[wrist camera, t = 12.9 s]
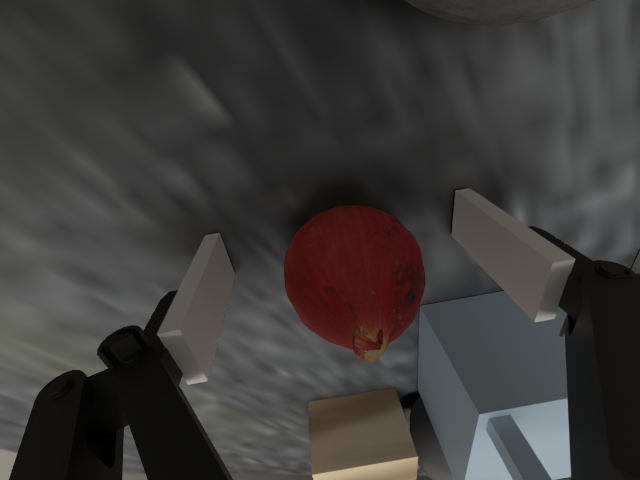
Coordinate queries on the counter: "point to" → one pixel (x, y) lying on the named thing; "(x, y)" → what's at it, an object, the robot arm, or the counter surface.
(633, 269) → the tray
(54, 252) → the counter surface
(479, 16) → the decorative ball
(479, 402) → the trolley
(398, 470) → the block
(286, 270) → the red rounded piece
